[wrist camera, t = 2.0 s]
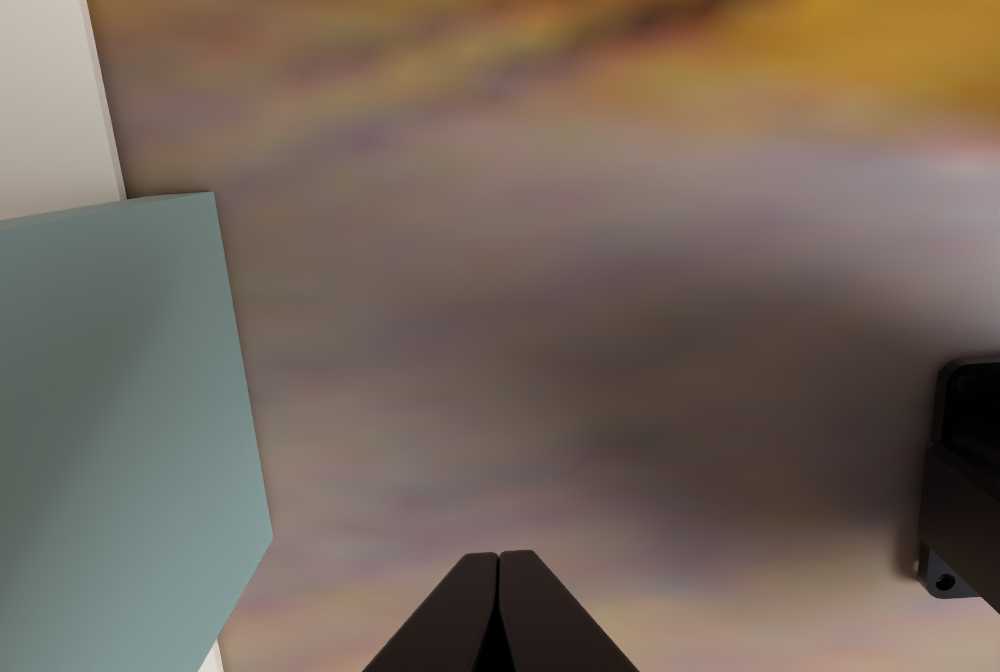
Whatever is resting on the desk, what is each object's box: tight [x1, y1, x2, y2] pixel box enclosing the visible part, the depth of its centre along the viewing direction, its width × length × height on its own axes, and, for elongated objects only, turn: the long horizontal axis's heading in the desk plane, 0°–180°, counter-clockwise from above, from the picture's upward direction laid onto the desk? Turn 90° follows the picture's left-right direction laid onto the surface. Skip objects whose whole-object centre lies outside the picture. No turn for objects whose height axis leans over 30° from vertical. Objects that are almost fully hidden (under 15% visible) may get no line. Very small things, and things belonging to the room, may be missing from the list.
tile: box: [0, 191, 273, 672], centre depth 12 cm, size 2×9×12 cm, turn 4°
